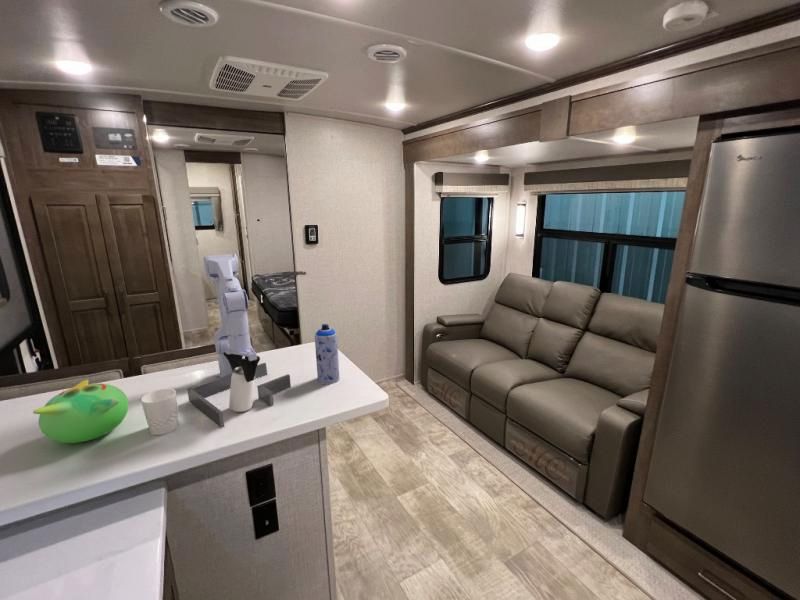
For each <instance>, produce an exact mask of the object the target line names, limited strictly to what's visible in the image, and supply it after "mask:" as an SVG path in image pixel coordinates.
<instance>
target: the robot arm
mask: <svg viewBox="0 0 800 600" xmlns="http://www.w3.org/2000/svg"><path fill="white" fill-rule="evenodd" d="M203 264H204V265H203V267H204V271H205V277H206V278H207V280H210V281H213V283H214V284H215V288H216V290H215V291H216V295H217V302H218V303H217V304H218V308H219V316H220V323H221V326H220V327H219V328H218V329H217V330H216V331H215V332H214V335H213V336H214V346H215V352H216V354H217V355H218V357H217V361H218V367H219V368H218V370H219V373H217V374H216V375H217V377H218V378H221V377H224V376H227V375H230V374H232V373H233V372H234V369H235V368H237V367H240V366H241V367H242V369H243V372H244V376H245V379H246V381H247V382H250V381H253V380H254V378H255V372H256V367H257V365H259V362H260V361H261V357H260V356H259V355H258V354H257V352H256V351H254V348H253V346H252V343H251V335H250V326H249V319H248V318H249V317H248V311H249V299H248V295H247V293H246V290H245V289H242V286H241V283H240V280H239V279H238V278H237V275H238V273H239V265H240V264H239V259H238V255H236V253H231V254H230V253H228V254H215V255H214V254H213V255H207V254H205V255H204V256H203Z"/></svg>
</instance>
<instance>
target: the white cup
mask: <svg viewBox="0 0 800 600" xmlns="http://www.w3.org/2000/svg"><path fill="white" fill-rule="evenodd" d="M177 399H178V398H177V394H176V390H175V389H173V388H160V389H156V390H155V389H154V390H152V391H150V392H148V393H146V394H144V395H142V397H141V399H140V401H141V406H142V409H143V413H144V416H145V420H146V423H147V426H148V429H149V433H150V435H153V436H162V435H166V434H169V433H171V432H173V431H174V430H176V429H177V428H178V427H179V426H180V423H179V410H178V400H177Z"/></svg>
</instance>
